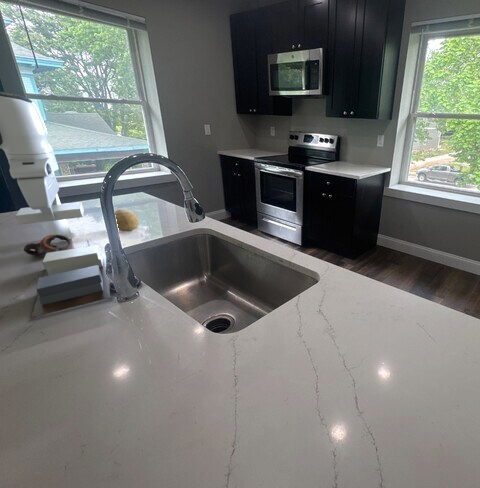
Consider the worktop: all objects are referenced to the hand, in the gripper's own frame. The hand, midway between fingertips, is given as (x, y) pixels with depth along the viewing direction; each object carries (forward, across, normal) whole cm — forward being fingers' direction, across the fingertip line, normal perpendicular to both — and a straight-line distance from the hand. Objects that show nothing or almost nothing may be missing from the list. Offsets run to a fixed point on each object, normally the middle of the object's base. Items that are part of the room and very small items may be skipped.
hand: (53, 215), depth 81 cm
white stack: (+19, -6, 0) cm, 20 cm away
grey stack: (+19, +10, 0) cm, 22 cm away
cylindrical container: (+21, -38, -7) cm, 44 cm away
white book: (0, 0, 0) cm, 0 cm away
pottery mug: (+21, -22, -8) cm, 31 cm away
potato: (+21, -36, +15) cm, 44 cm away
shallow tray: (+21, +2, 0) cm, 21 cm away
